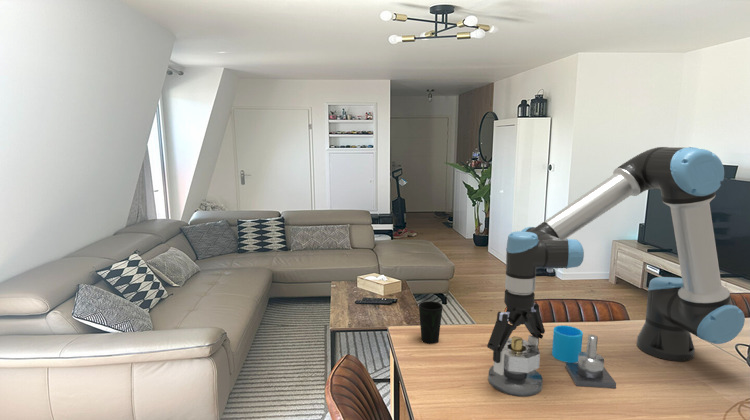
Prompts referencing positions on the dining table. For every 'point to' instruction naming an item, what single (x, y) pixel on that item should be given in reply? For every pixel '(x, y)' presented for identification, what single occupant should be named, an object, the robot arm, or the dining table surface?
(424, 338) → the cup
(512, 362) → the faceted steel ring
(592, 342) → the stand
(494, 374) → the hub
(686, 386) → the dining table surface
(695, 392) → the dining table surface
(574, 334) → the mug
